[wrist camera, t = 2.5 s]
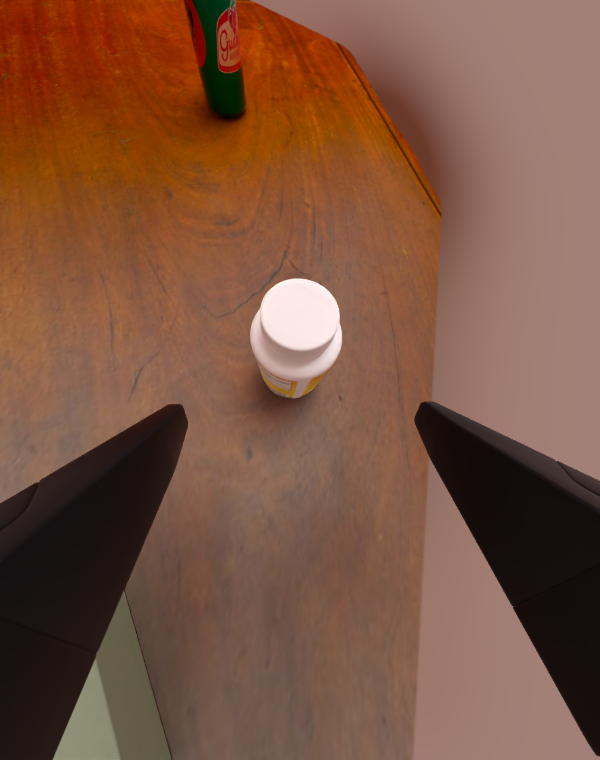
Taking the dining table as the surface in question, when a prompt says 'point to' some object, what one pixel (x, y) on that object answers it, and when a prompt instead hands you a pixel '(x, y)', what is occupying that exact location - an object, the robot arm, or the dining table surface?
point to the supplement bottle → (296, 336)
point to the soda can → (218, 54)
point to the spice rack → (116, 703)
